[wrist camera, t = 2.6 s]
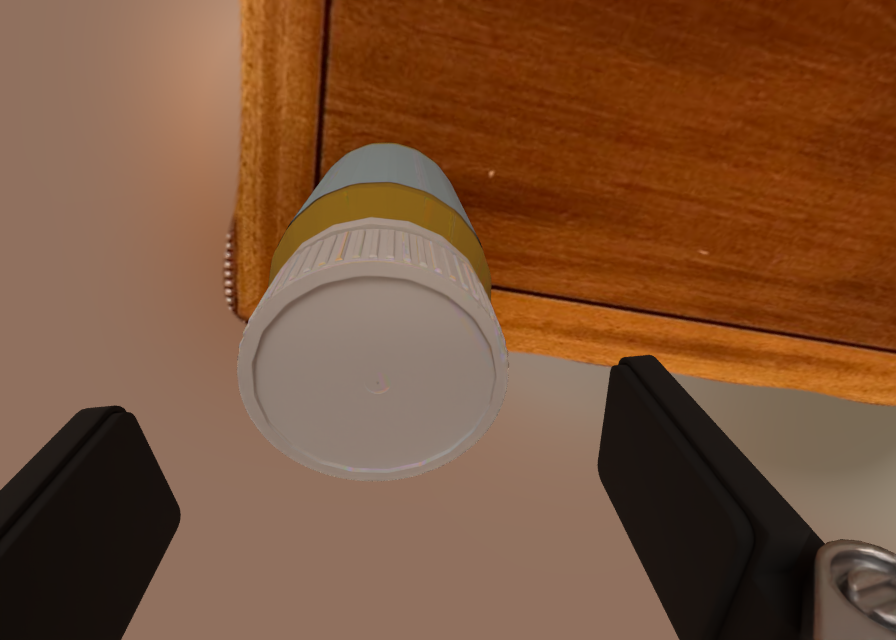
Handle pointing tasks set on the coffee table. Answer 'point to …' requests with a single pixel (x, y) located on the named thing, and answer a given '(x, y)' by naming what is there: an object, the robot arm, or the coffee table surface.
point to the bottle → (376, 325)
